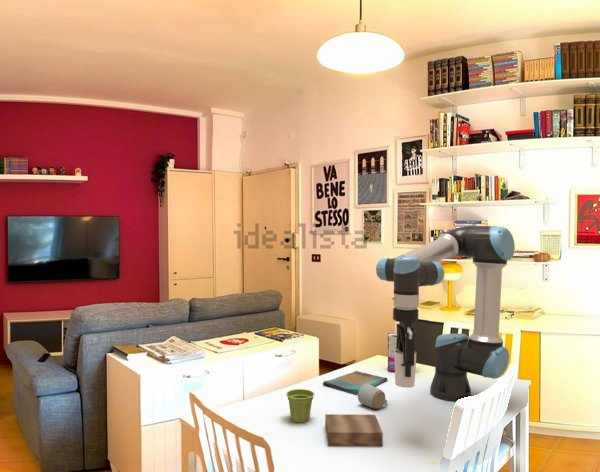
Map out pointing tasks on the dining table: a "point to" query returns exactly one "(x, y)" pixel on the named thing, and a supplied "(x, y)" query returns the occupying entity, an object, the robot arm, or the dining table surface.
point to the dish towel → (354, 382)
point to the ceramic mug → (371, 396)
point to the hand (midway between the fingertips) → (404, 383)
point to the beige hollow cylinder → (398, 368)
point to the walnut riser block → (353, 430)
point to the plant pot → (300, 404)
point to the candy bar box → (391, 351)
